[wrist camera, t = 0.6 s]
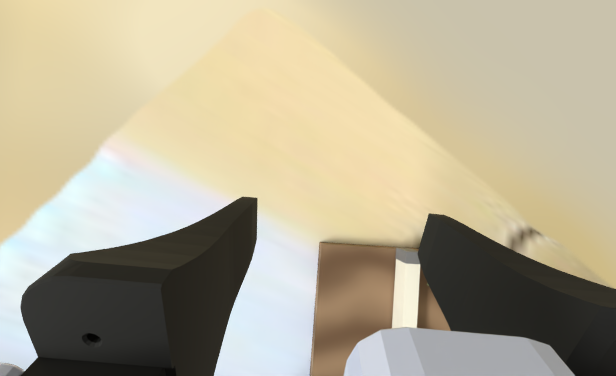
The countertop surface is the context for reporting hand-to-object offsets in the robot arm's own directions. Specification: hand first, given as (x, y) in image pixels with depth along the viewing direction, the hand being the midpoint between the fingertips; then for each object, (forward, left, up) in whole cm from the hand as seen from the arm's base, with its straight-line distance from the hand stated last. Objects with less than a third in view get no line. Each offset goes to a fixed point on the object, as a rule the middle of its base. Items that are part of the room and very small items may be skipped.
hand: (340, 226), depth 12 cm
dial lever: (-9, -11, -19) cm, 24 cm away
